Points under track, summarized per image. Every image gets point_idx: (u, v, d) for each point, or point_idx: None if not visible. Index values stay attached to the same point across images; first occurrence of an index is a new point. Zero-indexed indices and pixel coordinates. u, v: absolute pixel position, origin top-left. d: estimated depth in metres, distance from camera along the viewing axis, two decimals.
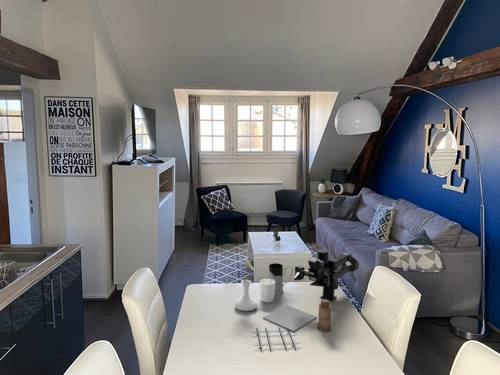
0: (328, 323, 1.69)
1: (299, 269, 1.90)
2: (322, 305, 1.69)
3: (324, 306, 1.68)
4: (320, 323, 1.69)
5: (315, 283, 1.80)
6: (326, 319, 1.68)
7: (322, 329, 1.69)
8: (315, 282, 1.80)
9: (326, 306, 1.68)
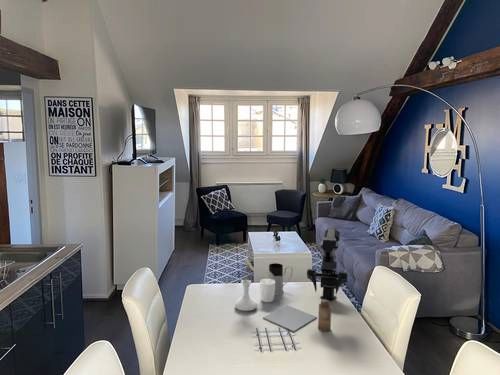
0: (328, 323, 1.69)
1: (313, 276, 1.80)
2: (322, 305, 1.69)
3: (324, 306, 1.68)
4: (320, 323, 1.69)
5: (338, 288, 1.77)
6: (326, 319, 1.68)
7: (322, 329, 1.69)
8: (338, 288, 1.77)
9: (326, 306, 1.68)
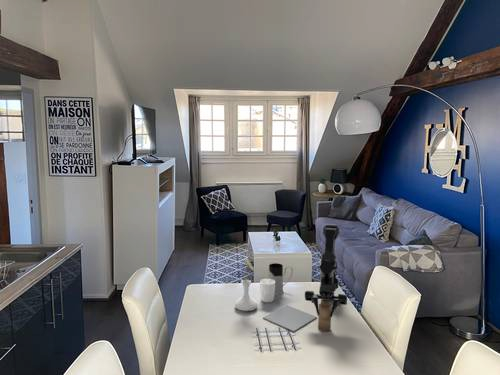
0: (328, 323, 1.69)
1: (315, 299, 1.72)
2: (322, 305, 1.69)
3: (324, 306, 1.68)
4: (320, 323, 1.69)
5: (333, 311, 1.70)
6: (326, 319, 1.68)
7: (322, 329, 1.69)
8: (333, 311, 1.70)
9: (326, 306, 1.68)
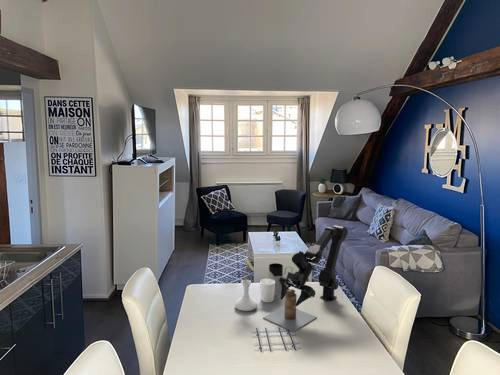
0: (290, 312, 1.78)
1: (282, 284, 1.84)
2: (286, 293, 1.79)
3: (287, 295, 1.78)
4: (285, 310, 1.80)
5: (300, 301, 1.76)
6: (288, 307, 1.78)
7: (285, 316, 1.79)
8: (300, 300, 1.76)
9: (289, 295, 1.77)
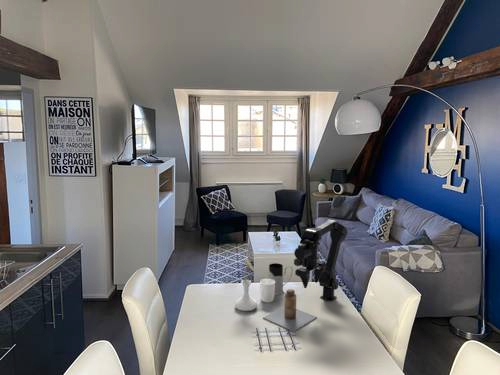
0: (290, 312, 1.78)
1: None
2: (286, 294, 1.79)
3: (287, 295, 1.78)
4: (285, 310, 1.80)
5: (304, 283, 1.85)
6: (288, 307, 1.78)
7: (285, 316, 1.79)
8: (303, 283, 1.85)
9: (289, 295, 1.77)
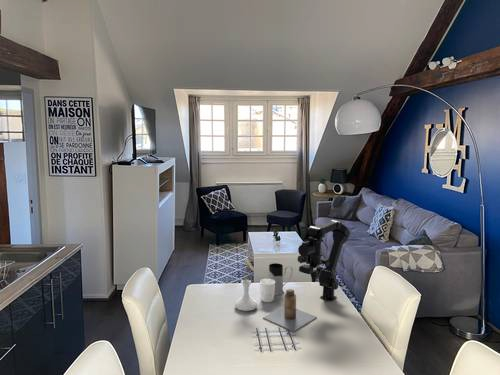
0: (290, 312, 1.78)
1: None
2: (286, 294, 1.79)
3: (287, 295, 1.78)
4: (284, 310, 1.80)
5: (313, 277, 1.90)
6: (288, 307, 1.78)
7: (285, 316, 1.79)
8: (312, 277, 1.90)
9: (289, 295, 1.77)
